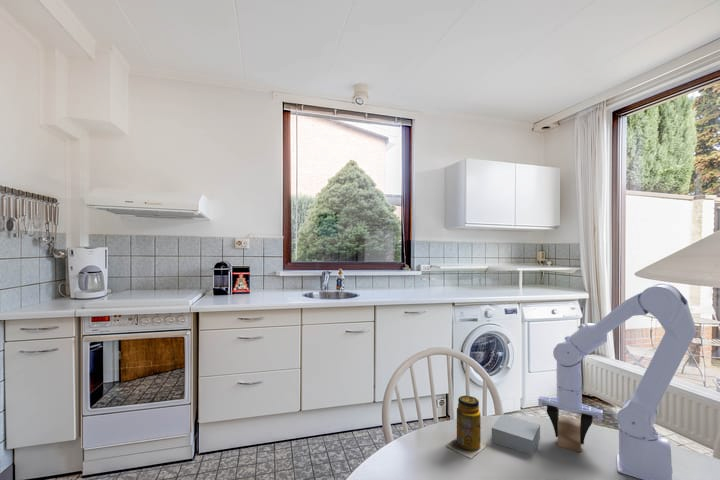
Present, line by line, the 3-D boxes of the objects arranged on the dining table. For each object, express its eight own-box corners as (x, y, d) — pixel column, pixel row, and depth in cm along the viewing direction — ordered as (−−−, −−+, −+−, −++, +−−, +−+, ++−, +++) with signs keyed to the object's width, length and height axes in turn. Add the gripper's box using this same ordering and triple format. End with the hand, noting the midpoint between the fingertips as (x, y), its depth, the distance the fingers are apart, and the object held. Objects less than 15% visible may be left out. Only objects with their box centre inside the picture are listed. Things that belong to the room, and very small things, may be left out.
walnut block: (581, 443, 91) (581, 420, 91) (580, 452, 87) (580, 428, 87) (559, 437, 94) (559, 415, 94) (557, 445, 90) (557, 422, 90)
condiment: (487, 445, 90) (486, 399, 90) (471, 459, 84) (471, 409, 84) (462, 434, 95) (461, 391, 95) (445, 446, 89) (445, 400, 89)
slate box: (540, 439, 93) (540, 424, 94) (532, 456, 86) (532, 440, 86) (502, 427, 100) (501, 413, 100) (491, 442, 92) (491, 427, 92)
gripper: (602, 388, 90) (603, 441, 89) (540, 376, 98) (541, 424, 98) (602, 398, 84) (603, 454, 84) (536, 384, 93) (537, 435, 92)
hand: (569, 438), depth 90 cm, fingers closed on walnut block, 5 cm apart
